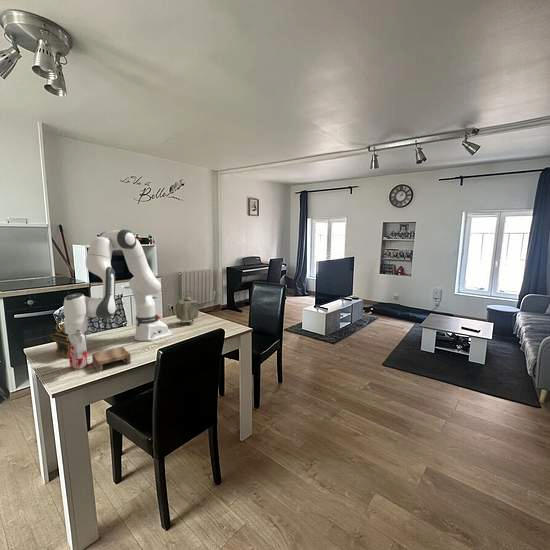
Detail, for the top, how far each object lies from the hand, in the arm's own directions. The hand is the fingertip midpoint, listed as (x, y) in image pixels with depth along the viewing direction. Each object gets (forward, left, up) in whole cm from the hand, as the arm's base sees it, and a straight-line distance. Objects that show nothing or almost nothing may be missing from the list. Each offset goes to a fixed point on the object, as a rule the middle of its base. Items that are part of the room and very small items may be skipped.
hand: (78, 355), depth 138 cm
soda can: (0, 0, -6) cm, 6 cm away
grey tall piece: (-73, -31, -6) cm, 80 cm away
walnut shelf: (-13, +5, -6) cm, 15 cm away
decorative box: (+1, -24, -6) cm, 25 cm away
